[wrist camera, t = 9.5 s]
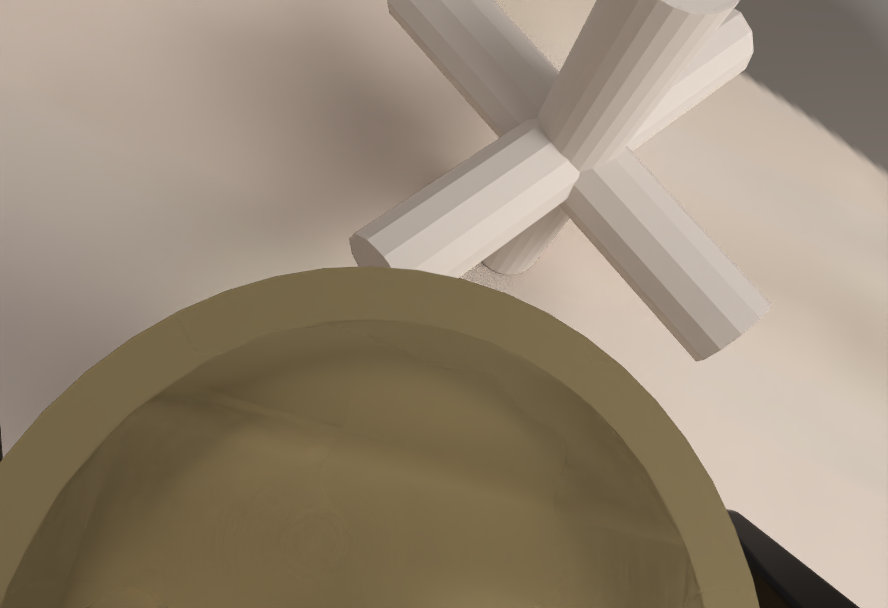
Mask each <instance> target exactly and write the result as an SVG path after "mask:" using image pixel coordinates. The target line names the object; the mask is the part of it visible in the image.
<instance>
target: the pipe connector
mask: <svg viewBox="0 0 888 608" xmlns="http://www.w3.org/2000/svg"><path fill="white" fill-rule="evenodd" d="M739 1H740V0H597V1H596V3H595V5H594V7H593V9H592V11H591V12H590V14H589V16H588V18H587V20H586V22H585V24H584V26H583V28H582V30H581V32H580V34H579V36H578V38H577V39H576V41H575V43H574V45H573V47H572V49H571V51H570V53H569V55H568V57H567V59H566V61H565V63H564V65H563V67H562V68H561V70H560V72H559V71H558V70H557V69H556V68H555V67H554V65H553V64H552V63H551V62H550V61H549V60H548V59H547V58H546V57H545V56H544V55H543V53H542V52H541V51H540V50H539V49H538V48H537V47H536V46H535V45H534V44H533V43H532V41H531V40H530V39H529V38H528V37H527V36H526V35H525V34H524V33H523V32H522V31H521V29H520V28H519V27H518V26H517V25H516V24H515V23H514V22H513V21H512V20H511V18H510V17H509V16H508V15H507V14H506V13H505V12H504V11H503V10H502V9H501V8H500V6H499V5H498V4H497V3H496V2H495V1H494V0H387V2H388V8H389V13H390V14H391V15H392V16H393V17H394V19H395V20H396V21H397V22H398V23H399V24H400V25H401V27H402V28H403V29H404V30H405V31H406V32H407V33H408V34H409V36H410V37H411V38H412V39H413V40H414V41H415V42H416V44H417V45H418V46H419V47H420V48H421V49H422V50H423V52H424V53H425V54H426V55H427V56H428V57H429V58H430V59H431V61H432V62H433V63H434V64H435V65H436V66H437V67H438V69H439V70H440V71H441V72H442V73H443V74H444V75H445V77H446V78H447V79H448V80H449V81H450V82H451V83H452V84H453V86H454V87H455V88H456V89H457V90H458V91H459V92H460V94H461V95H462V96H463V97H464V98H465V99H466V100H467V102H468V103H469V104H470V105H471V106H472V107H473V108H474V109H475V111H476V112H477V113H478V114H479V115H480V116H481V117H482V119H483V120H484V121H485V122H486V123H487V124H488V125H489V127H490V128H491V129H492V130H493V131H494V132H495V133H496V134H497V136H498V137H499V139H497V140H496V141H494V142H493V143H491V144H490V145H488V146H487V147H485V148H484V149H482V150H481V151H479V152H478V153H476V154H474V155H473V156H471V157H470V158H468V159H467V160H465V161H464V162H462V163H461V164H459V165H458V166H456V167H455V168H453V169H452V170H450V171H449V172H447V173H446V174H444V175H443V176H441V177H439V178H438V179H436V180H435V181H433V182H432V183H430V184H429V185H427V186H426V187H424V188H423V189H421V190H420V191H418V192H417V193H415V194H414V195H412V196H411V197H409V198H408V199H406V200H404V201H403V202H401V203H400V204H398V205H397V206H395V207H394V208H392V209H391V210H389V211H388V212H386V213H385V214H383V215H382V216H380V217H379V218H377V219H376V220H374V221H373V222H371V223H370V224H368V225H366V226H365V227H363V228H362V229H360V230H359V231H357V232H356V233H354V234H353V235H352V236H351V237H350V238H349V240H350V245H351V250H352V254H353V256H354V258H355V260H356V262H357V264H358V266H359V267H368V266H373V267H386V268H399V269H412V270H420V271H425V272H430V273H435V274H440V275H445V276H450V277H455V278H459V277H461V276H462V275H463V274H465V273H466V272H467V271H469V270H470V269H472V268H473V267H474V266H476V265H477V264H478V263H480V262H481V261H482V262H483V263H484V264H485V265H487V266H488V267H489V268H490V269H492V270H494V271H495V272H497V273H501V274H504V275H516V274H520V273H523V272H524V271H526V270H528V269H529V268H530V267H531V266H532V265H533V264H534V263H535V262H536V260H537V259H538V258H539V257H540V255H541V254H542V253H543V251H544V250H545V249H546V248H547V246H548V245H549V244H550V242H551V241H552V240H553V239H554V237H555V236H556V235H557V234H558V232H559V231H560V230H561V228H562V227H563V226H564V225H565V223H566V222H567V221H568V219H569V218H570V219H571V220H572V221H573V222H574V223H575V224H576V225H577V227H578V228H579V229H580V230H581V231H582V232H583V233H584V234H585V236H586V237H587V238H588V239H589V240H590V241H591V242H592V244H593V245H594V246H595V247H596V248H597V249H598V250H599V252H600V253H601V254H602V255H603V256H604V257H605V258H606V259H607V261H608V262H609V263H610V264H611V265H612V266H613V267H614V269H615V270H616V271H617V272H618V273H619V274H620V275H621V277H622V278H623V279H624V280H625V281H626V282H627V283H628V284H629V286H630V287H631V288H632V289H633V290H634V291H635V292H636V294H637V295H638V296H639V297H640V298H641V299H642V300H643V302H644V303H645V304H646V305H647V306H648V307H649V308H650V309H651V311H652V312H653V313H654V314H655V315H656V316H657V317H658V319H659V320H660V321H661V322H662V323H663V324H664V325H665V327H666V328H667V329H668V330H669V331H670V332H671V333H672V334H673V336H674V337H675V338H676V339H677V340H678V341H679V342H680V344H681V345H682V346H683V347H684V348H685V349H686V350H687V352H688V353H689V354H690V355H691V356H692V357H693V358H694V359H695V361H700V360H704V359H706V358H708V357H709V356H711V355H713V354H715V353H716V352H718V351H720V350H721V349H723V348H724V347H726V346H727V345H728V344H730V343H731V342H732V341H734V340H735V339H737V338H738V337H739V336H741V335H742V334H743V333H745V332H746V331H747V330H748V329H749V328H750V327H752V326H753V325H754V324H755V323H756V322H758V321H759V320H760V319H761V318H762V317H763V316H764V315H765V314H766V312H767V311H768V310H769V309H770V308H771V303H770V302H769V300H768V299H767V298H766V297H765V296H764V295H763V294H762V293H761V292H760V291H759V290H758V288H757V287H756V286H755V285H754V284H753V283H752V282H751V281H750V280H749V279H748V278H747V276H746V275H745V274H744V273H743V272H742V271H741V270H740V269H739V268H738V267H737V265H736V264H735V263H734V262H733V261H732V260H731V259H730V258H729V257H728V256H727V255H726V253H725V252H724V251H723V250H722V249H721V248H720V247H719V246H718V245H717V244H716V243H715V241H714V240H713V239H712V238H711V237H710V236H709V235H708V234H707V233H706V232H705V231H704V229H703V228H702V227H701V226H700V225H699V224H698V223H697V222H696V221H695V220H694V218H693V217H692V216H691V215H690V214H689V213H688V212H687V211H686V210H685V209H684V208H683V206H682V205H681V204H680V203H679V202H678V201H677V200H676V199H675V198H674V197H673V196H672V194H671V193H670V192H669V191H668V190H667V189H666V188H665V187H664V186H663V185H662V184H661V182H660V181H659V180H658V179H657V178H656V177H655V176H654V175H653V174H652V173H651V171H650V170H649V169H648V168H647V167H646V166H645V165H644V164H643V163H642V162H641V161H640V159H639V158H638V157H637V156H636V155H635V154H634V153H633V152H632V151H633V150H635V149H636V148H637V147H639V146H640V145H641V144H643V143H644V142H646V141H647V140H648V139H650V138H651V137H652V136H654V135H655V134H656V133H658V132H659V131H661V130H662V129H663V128H665V127H666V126H667V125H669V124H670V123H672V122H673V121H674V120H676V119H677V118H678V117H680V116H681V115H683V114H684V113H685V112H687V111H688V110H689V109H691V108H692V107H693V106H695V105H696V104H698V103H699V102H700V101H702V100H703V99H704V98H706V97H707V96H709V95H710V94H711V93H713V92H714V91H715V90H717V89H718V88H720V87H721V86H722V85H724V84H725V83H726V82H728V81H729V80H730V79H732V78H733V77H735V76H736V75H737V74H739V73H740V72H741V71H743V70H744V69H746V66H747V64H748V62H749V60H750V58H751V56H752V54H753V39H752V31H751V29H750V27H749V25H748V24H747V22H746V21H745V19H744V17H743V15H742V14H741V12H739V11H737V10H736V9H734V7H735V6H736V5H737V3H738V2H739Z"/></svg>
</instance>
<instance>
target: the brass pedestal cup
mask: <svg viewBox="0 0 888 608" xmlns="http://www.w3.org/2000/svg"><path fill="white" fill-rule="evenodd" d="M0 608H760V607H759V603H758V599H757V595H756V590H755V586H754V582H753V578H752V575H751V572H750V569H749V566H748V564H747V561H746V558H745V555H744V552H743V549H742V547H741V544H740V541H739V538H738V535H737V532H736V530H735V527H734V525H733V523H732V521H731V519H730V517H729V514H728V512H727V510H726V508H725V506H724V504H723V502H722V500H721V498H720V496H719V494H718V491H717V489H716V487H715V485H714V483H713V481H712V479H711V478H710V476H709V475H708V473H707V471H706V470H705V468H704V467H703V465H702V463H701V462H700V460H699V458H698V457H697V455H696V454H695V452H694V450H693V449H692V447H691V446H690V444H689V442H688V441H687V439H686V438H685V436H684V435H683V434H682V433H681V431H680V430H679V429H678V428H677V426H676V425H675V424H674V422H673V421H672V420H671V419H670V417H669V416H668V415H667V414H666V412H665V411H664V410H663V408H662V407H661V406H660V405H659V403H658V402H657V401H656V400H655V399H654V398H653V397H652V396H651V395H650V394H649V393H648V392H647V391H646V390H645V389H644V388H643V387H642V386H641V385H640V384H639V383H638V381H637V380H636V379H635V378H634V377H633V376H632V375H631V374H630V373H629V372H628V371H627V370H626V369H625V368H624V367H623V366H621V365H620V364H619V363H618V362H616V361H615V360H614V359H613V358H611V357H610V356H609V355H608V354H606V353H605V352H604V351H603V350H602V349H600V348H599V347H598V346H597V345H595V344H594V343H593V342H592V341H590V340H589V339H588V338H587V337H585V336H583V335H582V334H580V333H579V332H577V331H575V330H574V329H572V328H571V327H569V326H567V325H566V324H564V323H563V322H561V321H559V320H558V319H556V318H555V317H553V316H551V315H550V314H548V313H546V312H544V311H542V310H540V309H538V308H536V307H534V306H532V305H529V304H527V303H525V302H523V301H521V300H519V299H517V298H515V297H512V296H510V295H508V294H506V293H503V292H500V291H497V290H494V289H491V288H488V287H485V286H482V285H479V284H476V283H473V282H470V281H467V280H464V279H460V278H455V277H450V276H445V275H440V274H435V273H430V272H425V271H420V270H412V269H399V268H386V267H373V266H368V267H345V268H323V269H317V270H311V271H305V272H299V273H293V274H287V275H281V276H275V277H272V278H268V279H265V280H261V281H258V282H254V283H251V284H248V285H244V286H241V287H237V288H234V289H230V290H227V291H225V292H222V293H220V294H218V295H215V296H213V297H211V298H208V299H206V300H204V301H201V302H199V303H196V304H194V305H192V306H189V307H187V308H185V309H182V310H180V311H178V312H176V313H174V314H173V315H171V316H169V317H167V318H166V319H164V320H162V321H160V322H159V323H157V324H155V325H153V326H152V327H150V328H148V329H146V330H145V331H143V332H141V333H139V334H138V335H136V336H134V337H132V338H131V339H130V340H128V341H127V342H126V343H124V344H123V345H121V346H120V347H119V348H117V349H116V350H115V351H113V352H112V353H111V354H109V355H108V356H107V357H105V358H104V359H102V360H101V361H100V362H98V363H97V364H96V365H94V366H93V367H92V368H90V369H89V370H88V371H86V372H85V373H84V374H83V375H82V376H81V377H80V378H79V379H78V380H76V381H75V382H74V383H73V384H72V385H71V386H70V387H69V388H68V389H67V390H66V391H65V392H64V393H63V394H61V395H60V396H59V397H58V398H57V399H56V400H55V401H54V402H53V403H52V404H51V405H50V406H49V407H48V408H46V409H45V410H44V411H43V412H42V413H41V415H40V416H39V417H38V418H37V419H36V420H35V422H34V423H33V424H32V425H31V426H30V427H29V429H28V430H27V431H26V432H25V433H24V435H23V436H22V437H21V438H20V439H19V440H18V442H17V443H16V444H15V445H14V446H13V447H12V449H11V450H10V451H9V452H8V453H7V454H6V456H5V457H4V458H3V459H2V461H1V462H0Z"/></svg>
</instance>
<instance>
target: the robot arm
mask: <svg viewBox="0 0 888 608" xmlns="http://www.w3.org/2000/svg"><path fill="white" fill-rule="evenodd" d="M2 459H3V455H2V442H1V428H0V462H1V461H2ZM726 510H727V512H728V514H729V517H730V519H731V521H732V523H733V525H734V527H735V530H736V532H737V535H738V538H739V541H740V544H741V547H742V549H743V552H744V555H745V558H746V561H747V564H748V566H749V569H750V572H751V575H752V578H753V582H754V586H755V590H756V595H757V599H758V603H759V607H760V608H859V607H858V606H857V605H856V604H854V603H853V602H852V601H850V600H849V599H848V598H847V597H845V596H844V595H843V594H842V593H840V592H839V591H838V590H836V589H835V588H834V587H833V586H831V585H830V584H829V583H828V582H826V581H825V580H824V579H822V578H821V577H820V576H819V575H817V574H816V573H815V572H814V571H812V570H811V569H810V568H808V567H807V566H806V565H805V564H803V563H802V562H801V561H800V560H798V559H797V558H796V557H794V556H793V555H792V554H791V553H789V552H788V551H787V550H785V549H784V548H783V547H782V546H780V545H779V544H778V543H777V542H775V541H774V540H773V539H771V538H770V537H769V536H768V535H766V534H765V533H764V532H763V531H761V530H760V529H759V528H757V527H756V526H755V525H754V524H752V523H751V522H750V521H749V520H747V519H746V518H745V517H743V516H742V515H741V514H739V513H738V512H736V511H733V510H728V509H726Z"/></svg>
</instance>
